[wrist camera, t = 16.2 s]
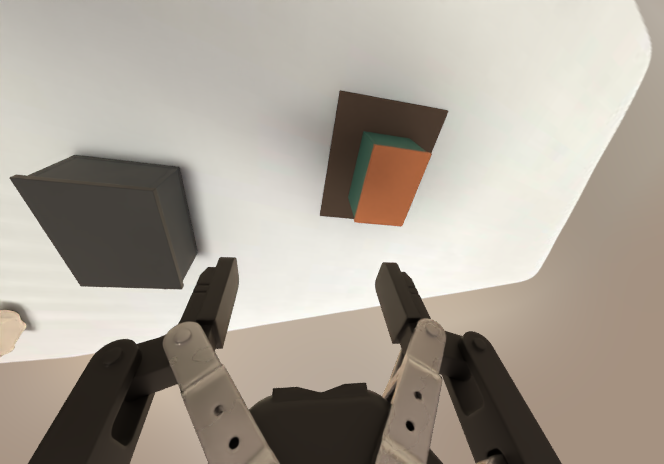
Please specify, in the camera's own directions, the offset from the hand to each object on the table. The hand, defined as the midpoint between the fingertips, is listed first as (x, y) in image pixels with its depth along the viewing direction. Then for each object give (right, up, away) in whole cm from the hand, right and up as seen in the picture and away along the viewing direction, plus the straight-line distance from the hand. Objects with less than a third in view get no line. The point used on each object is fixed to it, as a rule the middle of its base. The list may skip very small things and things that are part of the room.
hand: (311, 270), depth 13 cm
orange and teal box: (+7, +10, +18) cm, 22 cm away
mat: (+7, +11, +18) cm, 22 cm away
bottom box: (-24, +5, +19) cm, 31 cm away
